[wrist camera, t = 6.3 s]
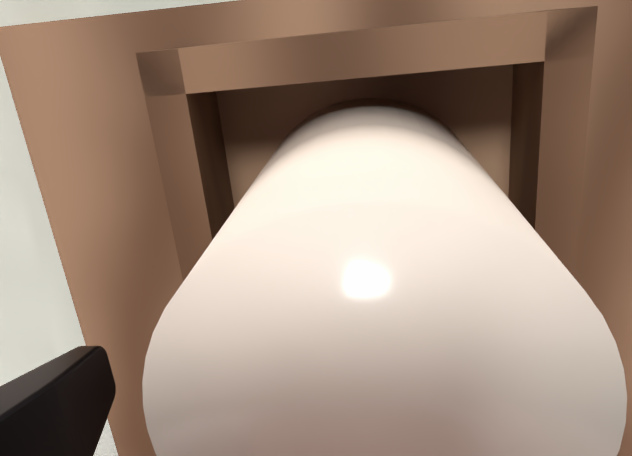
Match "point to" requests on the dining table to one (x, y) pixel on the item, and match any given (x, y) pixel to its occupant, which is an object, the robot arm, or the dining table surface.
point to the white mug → (380, 312)
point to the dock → (292, 108)
